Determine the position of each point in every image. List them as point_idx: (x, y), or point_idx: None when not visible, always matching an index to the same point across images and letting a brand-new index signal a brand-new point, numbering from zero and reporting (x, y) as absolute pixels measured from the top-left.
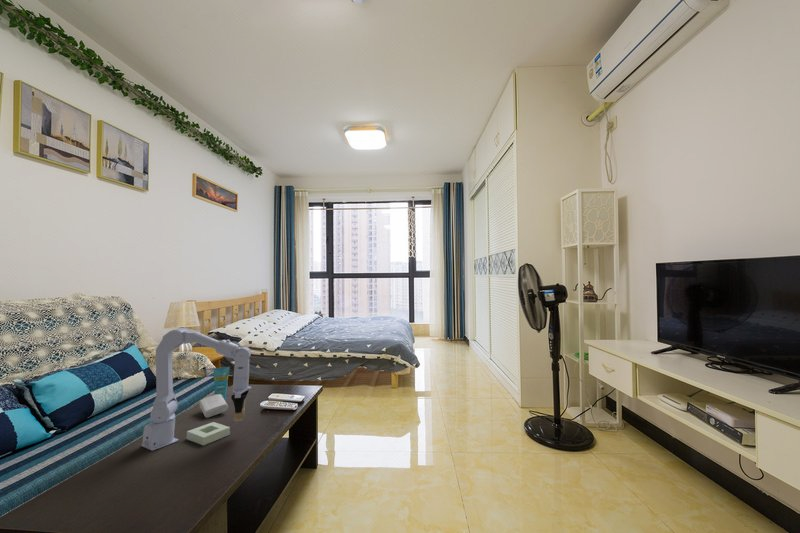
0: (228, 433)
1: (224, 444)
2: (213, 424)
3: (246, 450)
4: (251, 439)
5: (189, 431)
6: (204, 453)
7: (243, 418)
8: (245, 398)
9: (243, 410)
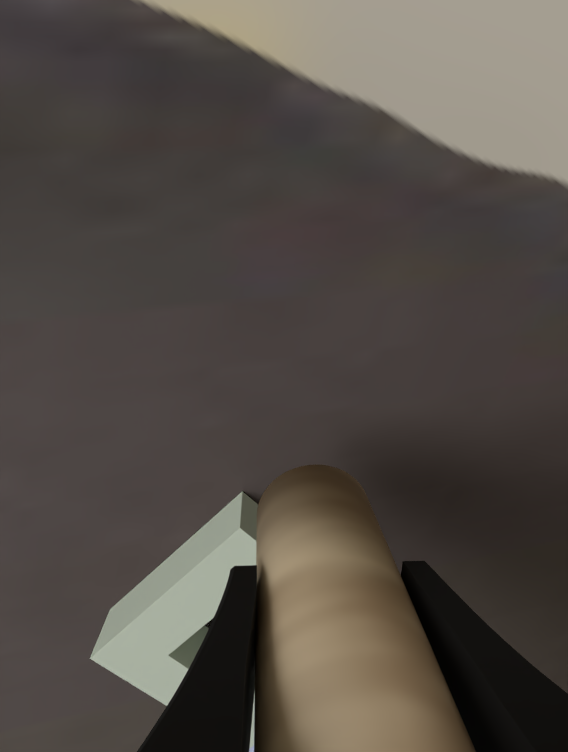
0: (250, 505)
1: (401, 493)
2: (149, 646)
3: (564, 339)
4: (382, 324)
5: (251, 741)
6: (487, 571)
7: (340, 475)
8: (194, 696)
9: (377, 547)
